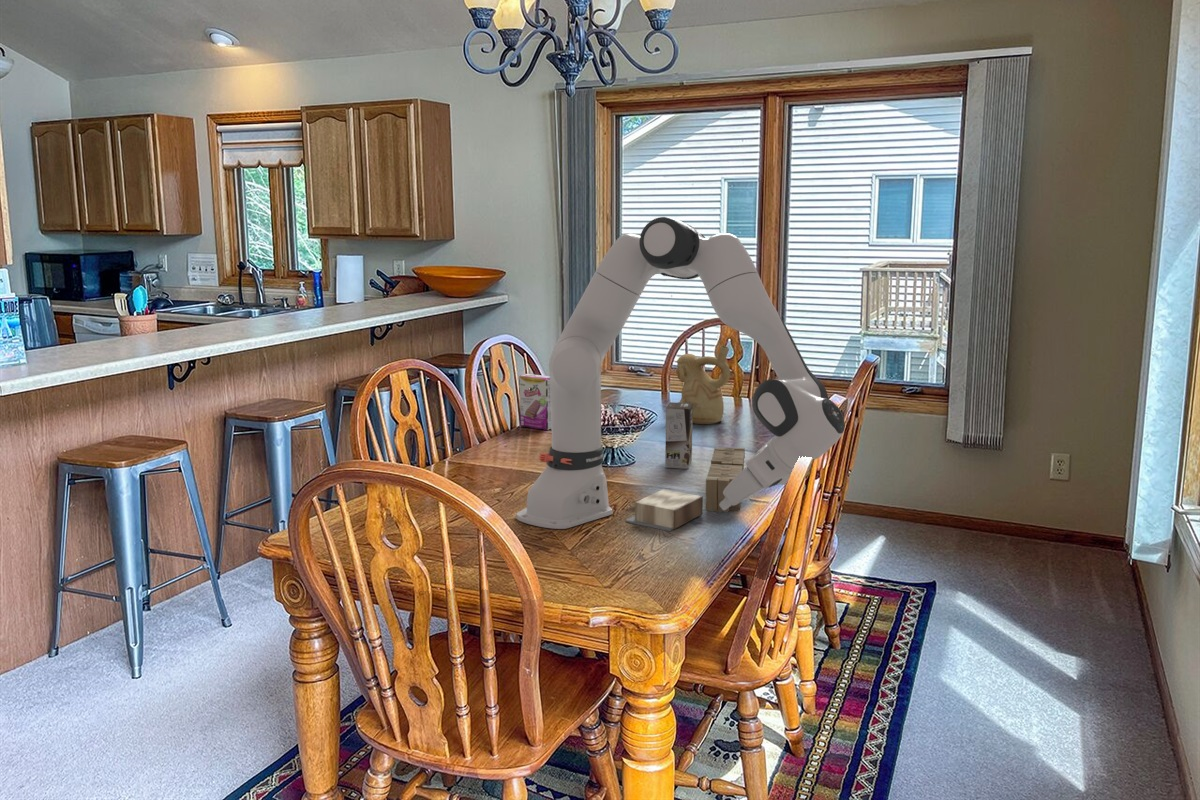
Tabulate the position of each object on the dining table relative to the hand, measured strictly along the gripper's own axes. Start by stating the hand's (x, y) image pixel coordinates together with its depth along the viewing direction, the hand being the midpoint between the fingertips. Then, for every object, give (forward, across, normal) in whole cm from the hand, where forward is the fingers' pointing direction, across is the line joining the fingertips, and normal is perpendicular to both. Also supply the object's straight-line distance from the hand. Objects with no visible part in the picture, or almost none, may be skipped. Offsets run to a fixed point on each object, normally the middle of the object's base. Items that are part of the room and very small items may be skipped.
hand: (733, 501), depth 192 cm
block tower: (+15, -24, -5) cm, 29 cm away
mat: (+16, 0, -7) cm, 18 cm away
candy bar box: (+72, -55, -63) cm, 110 cm away
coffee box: (+31, -41, -21) cm, 55 cm away
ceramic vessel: (+45, -92, -36) cm, 109 cm away
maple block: (+10, 0, -4) cm, 11 cm away
